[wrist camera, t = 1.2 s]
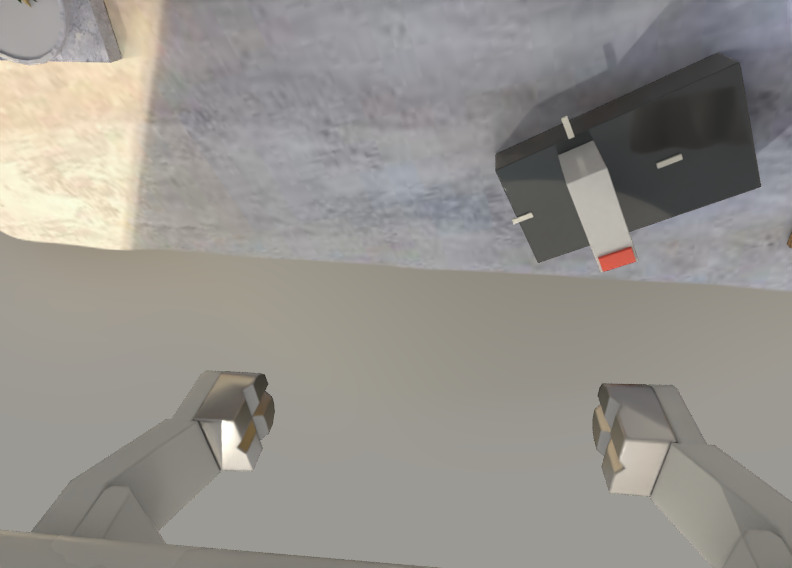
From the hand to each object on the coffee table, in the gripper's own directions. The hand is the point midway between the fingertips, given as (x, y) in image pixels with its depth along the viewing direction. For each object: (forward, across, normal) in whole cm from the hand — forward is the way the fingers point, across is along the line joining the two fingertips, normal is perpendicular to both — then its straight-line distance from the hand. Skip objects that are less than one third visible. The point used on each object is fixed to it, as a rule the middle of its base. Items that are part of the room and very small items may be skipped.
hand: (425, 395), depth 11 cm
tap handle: (+22, -9, +4) cm, 24 cm away
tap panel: (+25, -11, +3) cm, 27 cm away
